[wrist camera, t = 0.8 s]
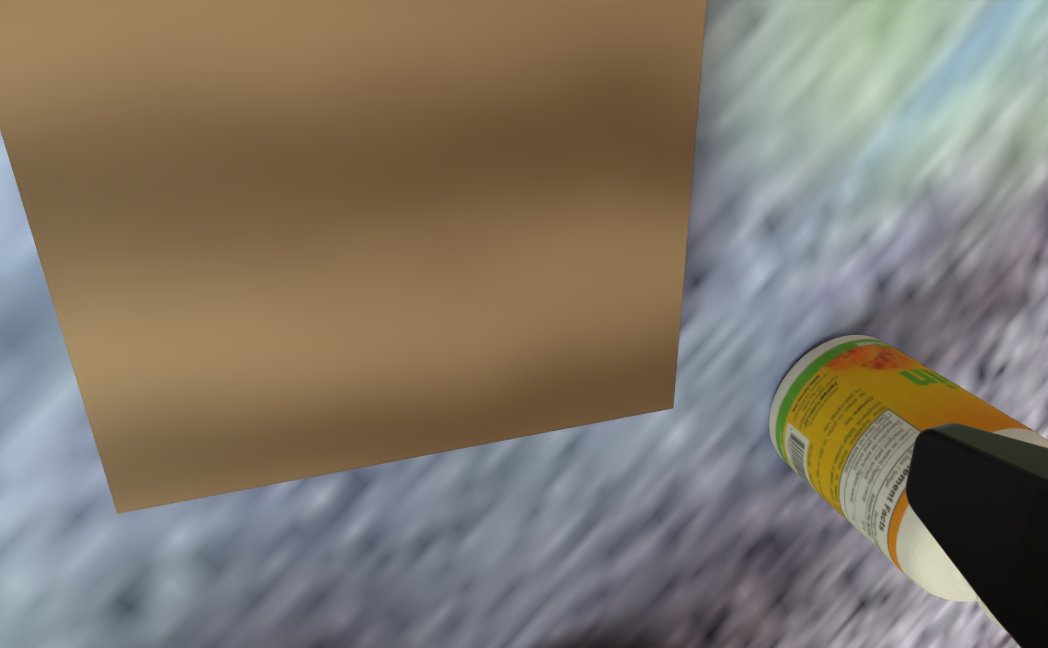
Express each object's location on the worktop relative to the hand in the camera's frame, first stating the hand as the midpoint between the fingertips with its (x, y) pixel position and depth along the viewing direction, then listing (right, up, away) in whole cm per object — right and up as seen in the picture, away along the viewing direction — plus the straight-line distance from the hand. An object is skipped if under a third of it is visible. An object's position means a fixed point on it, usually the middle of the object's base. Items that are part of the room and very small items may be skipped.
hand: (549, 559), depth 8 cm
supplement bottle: (+11, 0, +20) cm, 22 cm away
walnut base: (-4, +7, +11) cm, 13 cm away
